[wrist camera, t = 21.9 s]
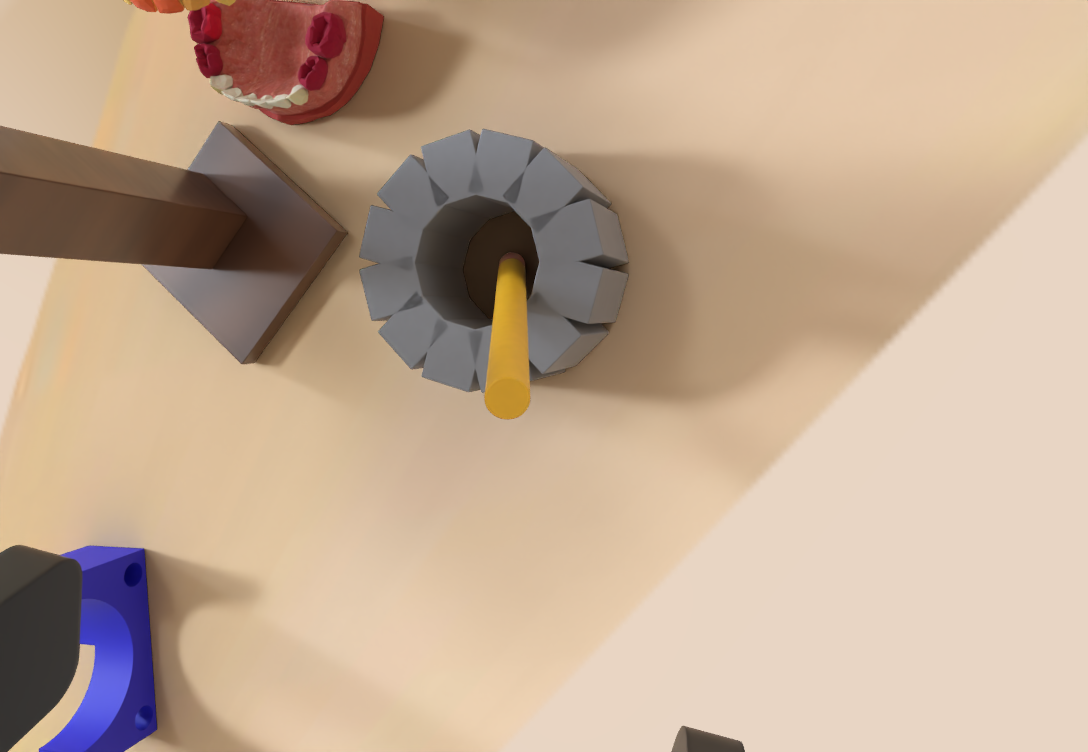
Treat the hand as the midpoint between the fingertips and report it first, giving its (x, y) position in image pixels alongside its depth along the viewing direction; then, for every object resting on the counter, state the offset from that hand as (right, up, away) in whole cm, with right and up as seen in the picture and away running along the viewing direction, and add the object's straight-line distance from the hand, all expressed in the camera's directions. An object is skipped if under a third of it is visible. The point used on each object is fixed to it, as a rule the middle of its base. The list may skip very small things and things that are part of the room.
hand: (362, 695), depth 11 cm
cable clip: (-25, -13, +43) cm, 52 cm away
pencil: (+2, +6, +24) cm, 25 cm away
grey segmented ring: (+1, +10, +33) cm, 35 cm away
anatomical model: (-11, +24, +36) cm, 45 cm away
